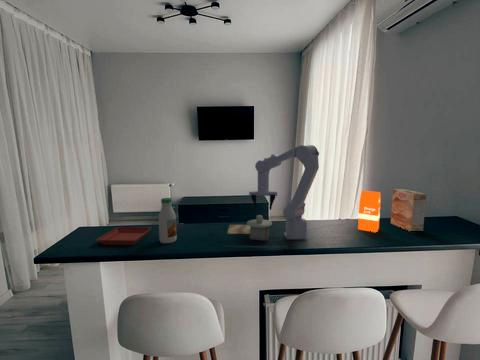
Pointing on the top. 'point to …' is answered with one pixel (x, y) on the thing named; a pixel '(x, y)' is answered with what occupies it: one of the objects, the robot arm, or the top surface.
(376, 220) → the orange juice
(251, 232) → the ceramic mug
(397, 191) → the coffeecake box
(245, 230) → the trivet
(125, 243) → the plant saucer
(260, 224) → the lid
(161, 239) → the milk bottle
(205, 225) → the top surface
